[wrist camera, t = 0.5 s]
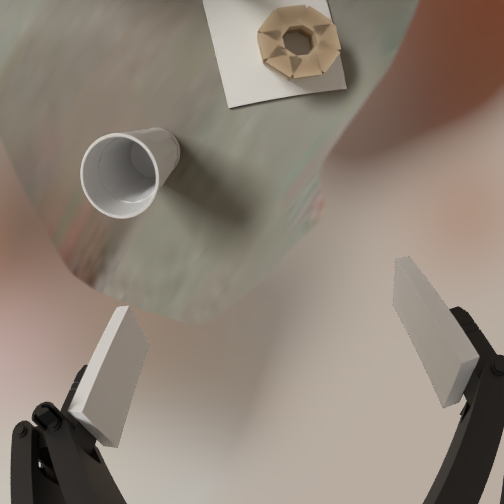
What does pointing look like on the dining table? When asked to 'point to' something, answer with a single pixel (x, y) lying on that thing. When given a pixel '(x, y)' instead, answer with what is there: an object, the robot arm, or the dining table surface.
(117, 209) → the cup
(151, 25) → the dining table surface
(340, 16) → the dining table surface
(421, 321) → the robot arm
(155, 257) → the dining table surface
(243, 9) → the mat
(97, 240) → the dining table surface
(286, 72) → the bead
